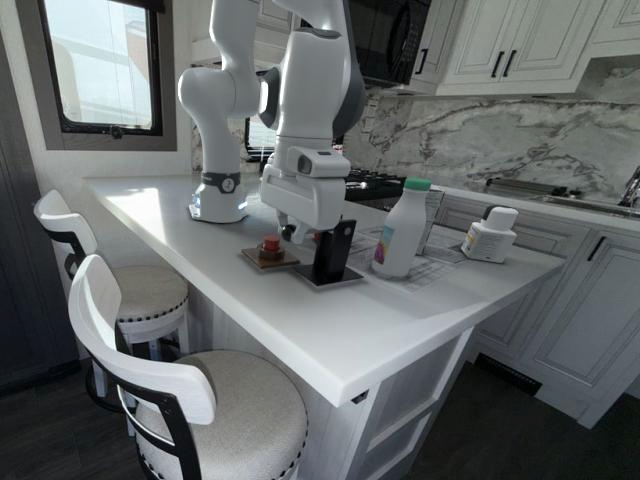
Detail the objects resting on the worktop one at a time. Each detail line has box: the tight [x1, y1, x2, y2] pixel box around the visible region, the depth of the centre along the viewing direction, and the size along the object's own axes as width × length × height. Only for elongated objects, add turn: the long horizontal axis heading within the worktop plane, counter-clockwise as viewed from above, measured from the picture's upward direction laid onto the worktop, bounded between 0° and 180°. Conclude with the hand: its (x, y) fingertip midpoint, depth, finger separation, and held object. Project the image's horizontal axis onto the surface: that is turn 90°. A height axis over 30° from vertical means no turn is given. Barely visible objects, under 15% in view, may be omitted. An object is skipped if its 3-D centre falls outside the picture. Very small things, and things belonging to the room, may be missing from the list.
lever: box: [280, 218, 344, 243], centre depth 58 cm, size 14×3×3 cm, turn 114°
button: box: [262, 234, 281, 251], centre depth 69 cm, size 4×4×2 cm
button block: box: [241, 242, 301, 270], centre depth 70 cm, size 10×10×4 cm
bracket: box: [292, 213, 365, 287], centre depth 62 cm, size 12×9×13 cm
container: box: [460, 204, 520, 264], centre depth 78 cm, size 8×8×13 cm
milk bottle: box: [370, 177, 433, 278], centre depth 64 cm, size 8×8×20 cm
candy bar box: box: [415, 183, 446, 256], centre depth 80 cm, size 11×5×16 cm, turn 168°
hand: (289, 238), depth 57 cm, fingers closed on lever, 3 cm apart
